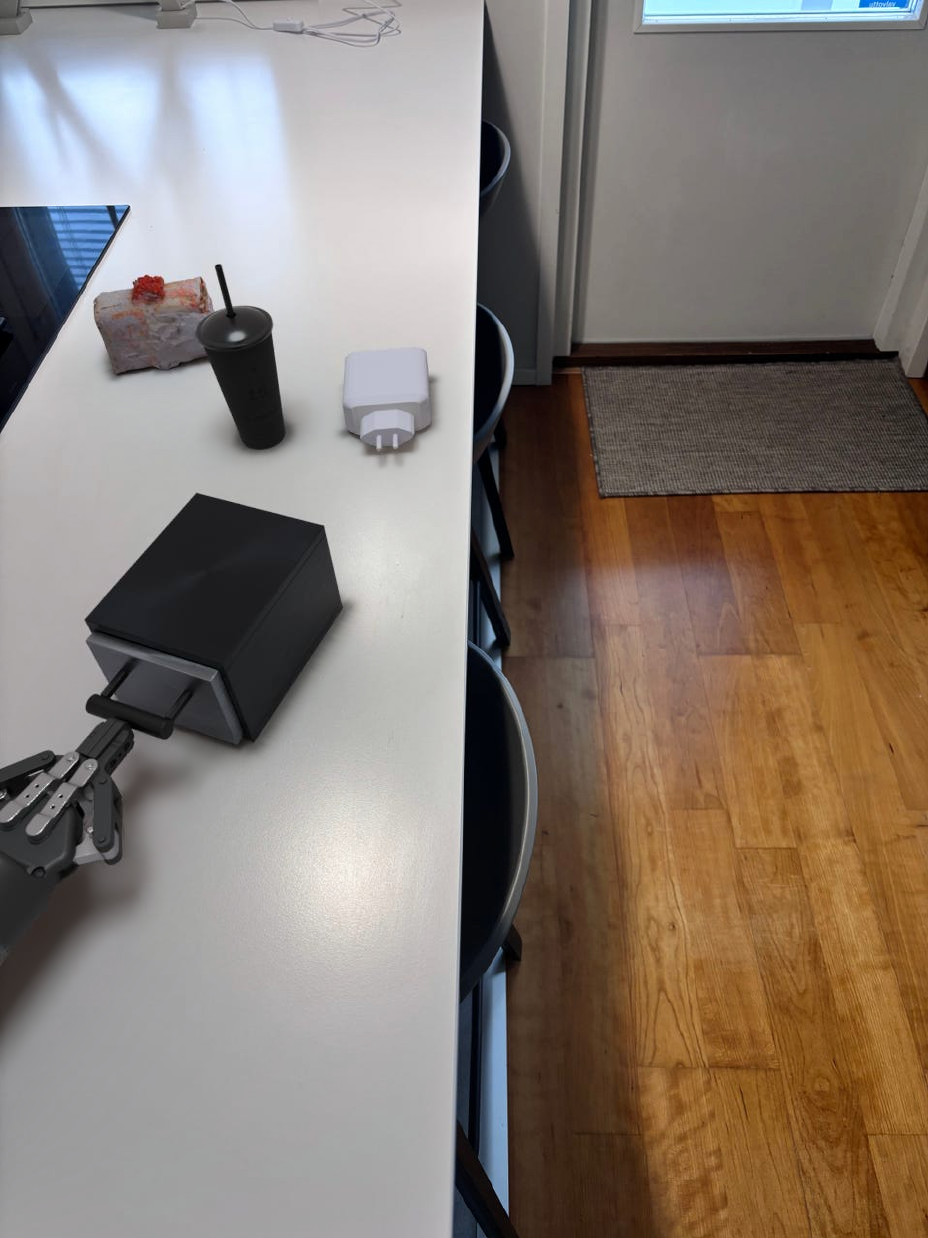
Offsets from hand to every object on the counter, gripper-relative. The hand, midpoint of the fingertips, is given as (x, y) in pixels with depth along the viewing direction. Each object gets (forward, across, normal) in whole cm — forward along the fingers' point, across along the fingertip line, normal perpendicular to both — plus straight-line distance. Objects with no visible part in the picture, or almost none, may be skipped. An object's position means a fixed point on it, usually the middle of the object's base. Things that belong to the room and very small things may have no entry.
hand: (123, 726), depth 71 cm
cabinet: (+14, 0, +6) cm, 15 cm away
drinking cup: (+41, +15, +6) cm, 44 cm away
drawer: (+10, 0, +5) cm, 11 cm away
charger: (+48, +3, +6) cm, 48 cm away
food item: (+51, +35, +6) cm, 62 cm away
